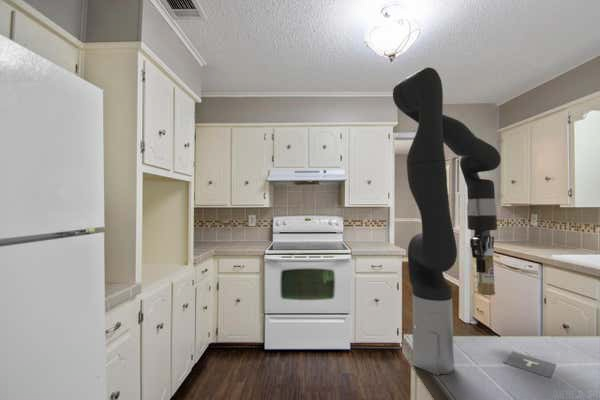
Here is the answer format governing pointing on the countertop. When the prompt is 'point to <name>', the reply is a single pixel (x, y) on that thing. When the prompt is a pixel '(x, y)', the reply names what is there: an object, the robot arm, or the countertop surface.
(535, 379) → the countertop surface
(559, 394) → the countertop surface
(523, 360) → the letter card
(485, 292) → the sprinkles bottle
